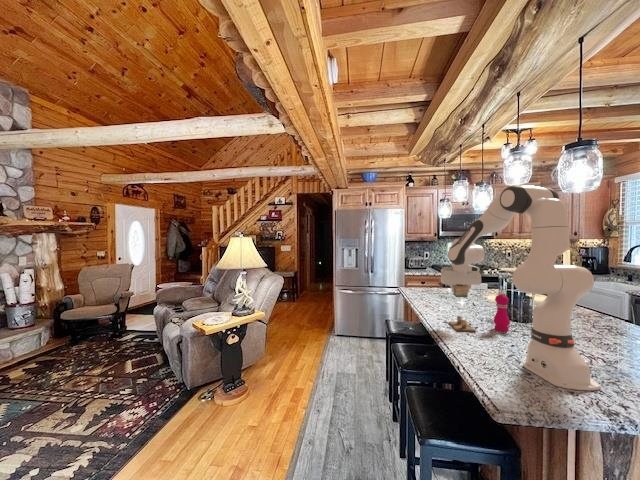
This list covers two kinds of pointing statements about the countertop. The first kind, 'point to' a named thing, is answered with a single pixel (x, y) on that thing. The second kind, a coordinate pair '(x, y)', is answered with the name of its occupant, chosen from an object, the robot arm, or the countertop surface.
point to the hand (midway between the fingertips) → (460, 292)
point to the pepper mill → (501, 313)
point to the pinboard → (461, 325)
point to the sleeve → (460, 290)
